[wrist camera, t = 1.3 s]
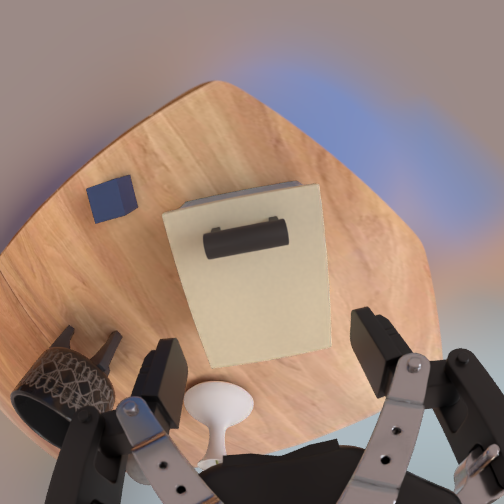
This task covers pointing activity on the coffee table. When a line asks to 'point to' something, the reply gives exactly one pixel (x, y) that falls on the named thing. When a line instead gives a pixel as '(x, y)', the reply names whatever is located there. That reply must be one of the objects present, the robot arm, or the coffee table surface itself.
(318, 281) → the lid
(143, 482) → the decorative ball
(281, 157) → the coffee table surface
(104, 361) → the planter
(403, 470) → the robot arm
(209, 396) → the flower in vase
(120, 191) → the block
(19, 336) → the coffee table surface
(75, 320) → the coffee table surface
